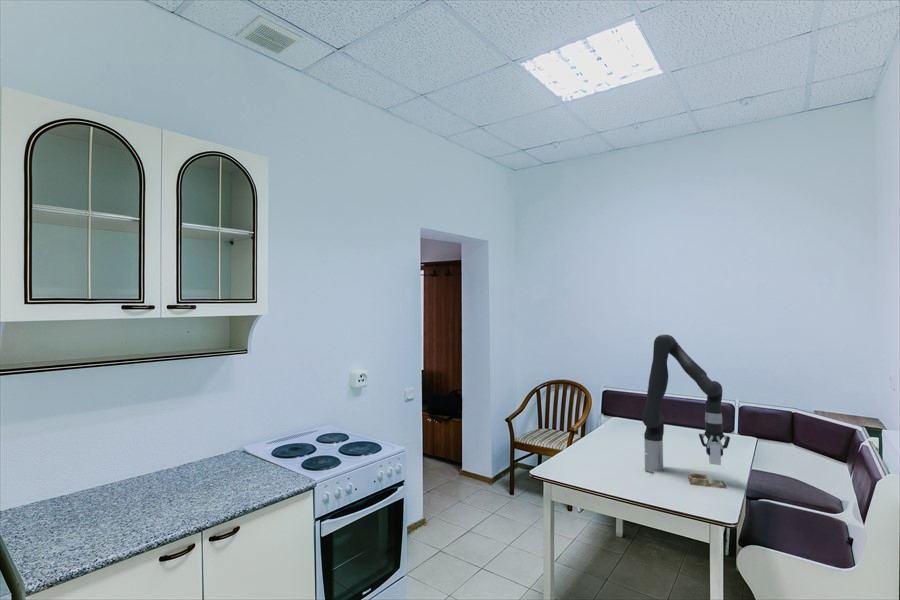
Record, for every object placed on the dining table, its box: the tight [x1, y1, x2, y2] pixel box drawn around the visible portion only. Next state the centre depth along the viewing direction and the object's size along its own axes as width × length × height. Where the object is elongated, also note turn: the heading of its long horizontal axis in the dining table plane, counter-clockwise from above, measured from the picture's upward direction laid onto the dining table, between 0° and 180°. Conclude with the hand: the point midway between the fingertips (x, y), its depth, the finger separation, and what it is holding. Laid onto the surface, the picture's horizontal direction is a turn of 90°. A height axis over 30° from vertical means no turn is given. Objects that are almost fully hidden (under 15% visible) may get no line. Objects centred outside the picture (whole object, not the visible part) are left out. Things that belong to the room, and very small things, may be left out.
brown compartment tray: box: [687, 472, 728, 490], centre depth 224 cm, size 16×11×4 cm
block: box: [708, 442, 722, 466], centre depth 224 cm, size 4×4×10 cm
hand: (714, 455), depth 224 cm, fingers closed on block, 4 cm apart
